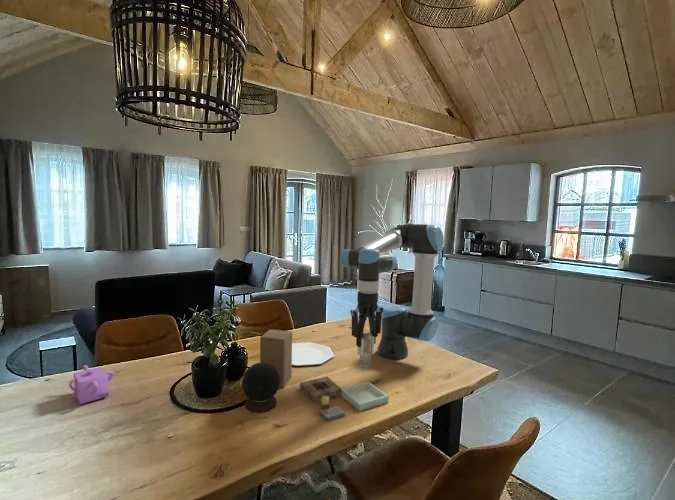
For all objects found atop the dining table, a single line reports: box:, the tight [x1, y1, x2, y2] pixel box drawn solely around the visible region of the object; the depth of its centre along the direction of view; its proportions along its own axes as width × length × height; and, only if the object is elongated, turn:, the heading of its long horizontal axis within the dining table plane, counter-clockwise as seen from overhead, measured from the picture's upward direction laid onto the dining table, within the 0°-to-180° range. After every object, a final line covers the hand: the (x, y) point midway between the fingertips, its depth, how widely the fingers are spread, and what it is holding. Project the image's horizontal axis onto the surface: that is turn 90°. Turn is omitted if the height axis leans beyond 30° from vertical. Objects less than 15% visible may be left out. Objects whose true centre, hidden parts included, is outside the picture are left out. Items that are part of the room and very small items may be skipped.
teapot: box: [68, 364, 115, 405], centre depth 131 cm, size 18×14×10 cm
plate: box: [292, 341, 335, 367], centre depth 174 cm, size 28×28×2 cm
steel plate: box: [319, 405, 346, 422], centre depth 123 cm, size 7×5×1 cm
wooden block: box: [259, 329, 293, 389], centre depth 145 cm, size 10×10×20 cm
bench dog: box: [320, 395, 331, 410], centre depth 127 cm, size 3×3×4 cm
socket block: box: [299, 376, 342, 404], centre depth 139 cm, size 12×12×2 cm
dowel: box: [359, 331, 372, 368], centre depth 133 cm, size 4×4×12 cm
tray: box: [340, 381, 390, 412], centre depth 134 cm, size 13×13×2 cm
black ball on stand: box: [241, 362, 280, 414], centre depth 128 cm, size 13×13×15 cm
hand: (365, 353), depth 133 cm, fingers closed on dowel, 4 cm apart
